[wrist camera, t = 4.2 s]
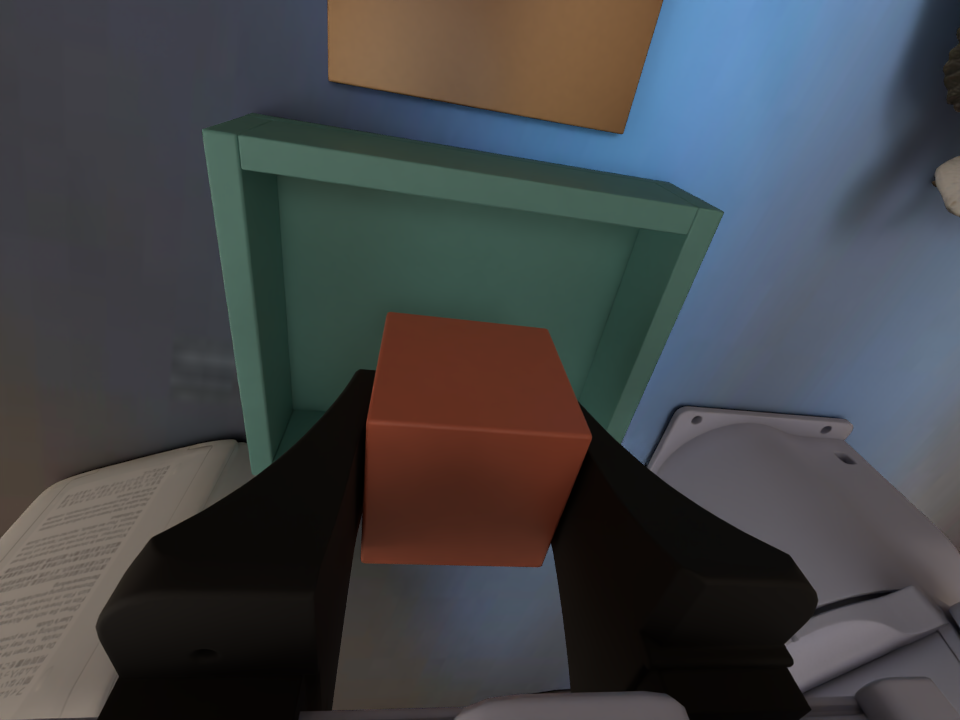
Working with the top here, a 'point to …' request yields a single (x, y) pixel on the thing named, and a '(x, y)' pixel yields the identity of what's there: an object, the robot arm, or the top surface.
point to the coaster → (499, 54)
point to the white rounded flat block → (91, 569)
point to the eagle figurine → (956, 175)
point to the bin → (435, 262)
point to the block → (468, 444)
